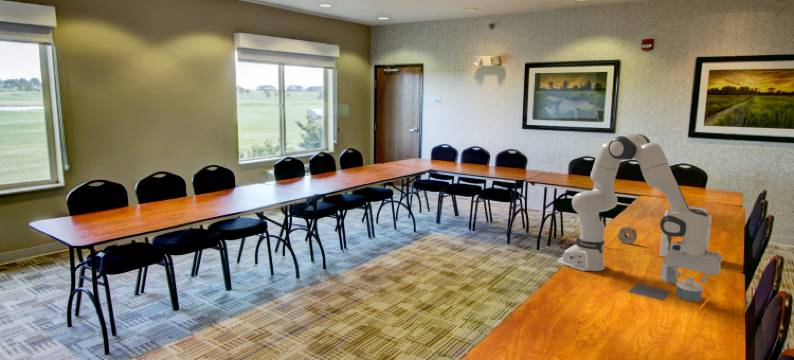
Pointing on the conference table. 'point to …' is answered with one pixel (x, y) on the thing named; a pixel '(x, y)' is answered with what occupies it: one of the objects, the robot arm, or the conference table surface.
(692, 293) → the bowl
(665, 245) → the gable box
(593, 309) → the conference table surface
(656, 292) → the mat
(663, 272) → the medicine box
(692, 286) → the lid
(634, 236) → the stone disc
